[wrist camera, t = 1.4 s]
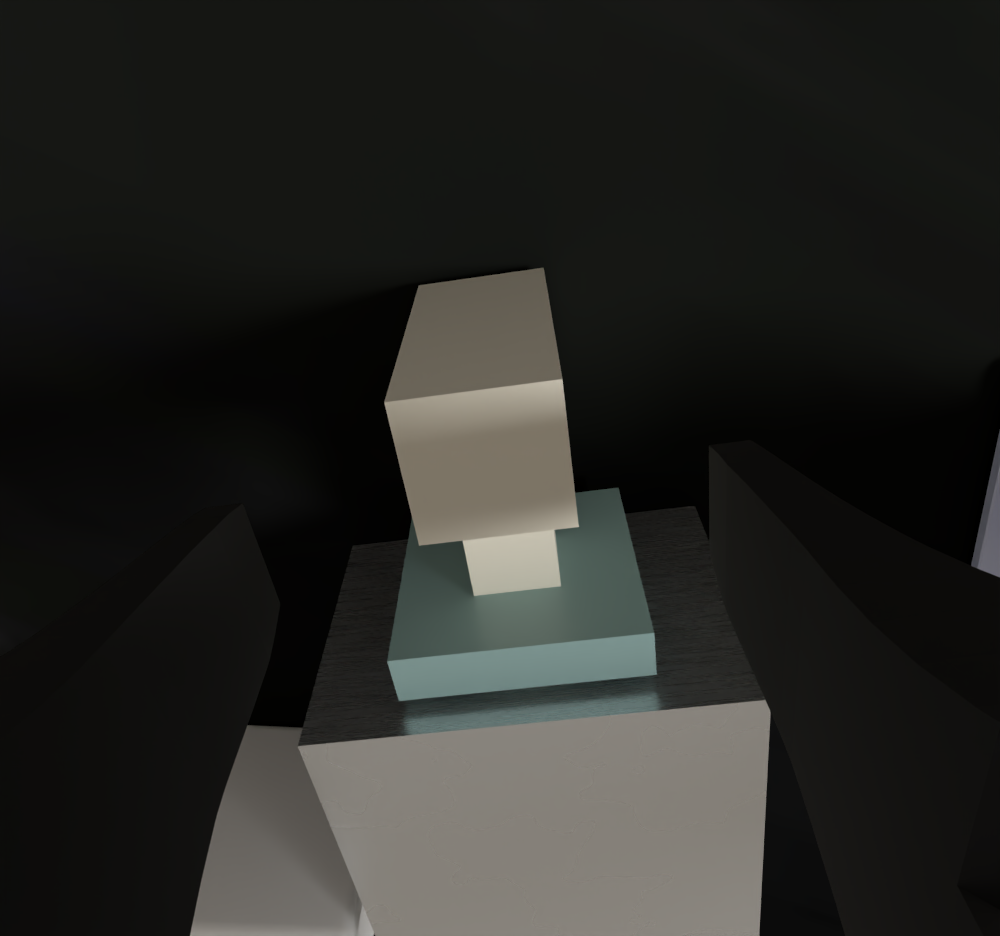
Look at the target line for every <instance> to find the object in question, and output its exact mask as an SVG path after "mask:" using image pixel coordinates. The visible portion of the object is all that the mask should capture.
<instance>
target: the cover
mask: <svg viewBox="0 0 1000 936" xmlns="http://www.w3.org/2000/svg"><path fill="white" fill-rule="evenodd" d="M384 404H385V408H386V412H387V416H388V420H389V424H390V428H391V433H392V437H393V441H394V445H395V449H396V453H397V457H398V461H399V465H400V469H401V474H402V478H403V482H404V486H405V490H406V494H407V498H408V502H409V506H410V510H411V515H412V520H411V526H410V532H409V538H408V543H407V549H406V555H405V561H404V567H403V572H402V578H401V584H400V590H399V595H398V601H397V607H396V613H395V618H394V624H393V630H392V636H391V641H390V647H389V653H388V659H387V663H388V666H389V669H390V673H391V676H392V680H393V683H394V686H395V690H396V693H397V696H398V700H399V701H405V700H415V699H424V698H434V697H444V696H454V695H464V694H473V693H483V692H493V691H503V690H512V689H522V688H532V687H542V686H552V685H561V684H571V683H581V682H591V681H600V680H610V679H620V678H630V677H640V676H649V675H657V671H656V653H655V635H654V629H653V625H652V621H651V617H650V613H649V609H648V605H647V601H646V597H645V593H644V589H643V585H642V581H641V577H640V573H639V569H638V565H637V561H636V557H635V553H634V549H633V545H632V541H631V536H630V532H629V528H628V524H627V520H626V516H625V512H624V508H623V504H622V500H621V496H620V492H619V488H611V489H603V490H594V491H586V492H578V493H575V488H574V479H573V470H572V461H571V452H570V443H569V434H568V425H567V416H566V407H565V398H564V389H563V380H562V374H561V368H560V362H559V356H558V350H557V344H556V338H555V333H554V327H553V321H552V315H551V309H550V303H549V297H548V291H547V285H546V279H545V273H544V268H538V269H531V270H524V271H517V272H510V273H503V274H496V275H489V276H481V277H474V278H467V279H460V280H453V281H446V282H439V283H432V284H425V285H419V286H418V290H417V293H416V296H415V300H414V303H413V307H412V310H411V313H410V317H409V320H408V323H407V327H406V330H405V334H404V337H403V340H402V344H401V347H400V351H399V354H398V357H397V361H396V364H395V367H394V371H393V374H392V378H391V381H390V384H389V388H388V391H387V395H386V398H385V401H384Z"/></svg>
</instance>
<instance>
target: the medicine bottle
mask: <svg viewBox="0 0 1000 936" xmlns="http://www.w3.org/2000/svg"><path fill="white" fill-rule="evenodd" d="M301 732H302V728H297V727H277V726H257V725H247V728H246V731H245V733H244V736H243V739H242V742H241V745H240V748H239V750H238V753H237V756H236V759H235V762H234V764H233V767H232V770H231V773H230V776H229V779H228V781H227V784H226V787H225V790H224V794H223V797H222V800H221V803H220V807H219V810H218V813H217V817H216V821H215V825H214V829H213V833H212V837H211V842H210V846H209V850H208V854H207V859H206V863H205V867H204V871H203V876H202V880H201V885H200V889H199V894H198V899H197V904H196V909H195V914H194V918H193V923H192V928H191V933H190V936H373V935H374V931H373V929H372V926H371V924H370V921H369V919H368V917H367V914H366V912H365V909H364V907H363V904H362V902H361V900H360V897H359V895H358V892H357V890H356V887H355V885H354V883H353V880H352V878H351V875H350V873H349V870H348V868H347V865H346V863H345V861H344V858H343V856H342V853H341V851H340V848H339V846H338V844H337V841H336V839H335V836H334V834H333V831H332V829H331V826H330V824H329V822H328V819H327V817H326V814H325V812H324V809H323V807H322V805H321V802H320V800H319V797H318V795H317V792H316V790H315V787H314V785H313V783H312V780H311V778H310V775H309V773H308V770H307V768H306V766H305V763H304V761H303V758H302V756H301V753H300V751H299V749H298V743H299V739H300V736H301Z"/></svg>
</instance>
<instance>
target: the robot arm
mask: <svg viewBox="0 0 1000 936" xmlns="http://www.w3.org/2000/svg"><path fill="white" fill-rule="evenodd" d="M709 552H710V558H711V562H712V565H713V569H714V572H715V576H716V579H717V583H718V587H719V590H720V593H721V596H722V600H723V603H724V606H725V610H726V612H727V614H728V617H729V619H730V621H731V624H732V626H733V628H734V631H735V633H736V635H737V637H738V640H739V642H740V644H741V647H742V649H743V651H744V653H745V656H746V658H747V660H748V662H749V665H750V667H751V669H752V671H753V674H754V676H755V678H756V680H757V682H758V685H759V687H760V689H761V691H762V694H763V696H764V698H765V700H766V703H767V705H768V707H769V709H770V712H771V714H772V716H773V718H774V720H775V723H776V725H777V727H778V729H779V732H780V734H781V737H782V739H783V742H784V744H785V747H786V749H787V752H788V754H789V757H790V759H791V762H792V765H793V768H794V771H795V774H796V777H797V780H798V784H799V787H800V790H801V793H802V796H803V799H804V802H805V805H806V808H807V811H808V814H809V817H810V820H811V824H812V827H813V830H814V833H815V836H816V840H817V843H818V846H819V849H820V853H821V856H822V859H823V862H824V866H825V869H826V872H827V875H828V879H829V882H830V885H831V888H832V892H833V895H834V898H835V902H836V905H837V909H838V912H839V915H840V919H841V922H842V926H843V929H844V933H845V936H1000V431H999V436H998V440H997V445H996V450H995V455H994V459H993V464H992V469H991V474H990V478H989V483H988V488H987V493H986V497H985V502H984V507H983V511H982V516H981V521H980V526H979V530H978V535H977V540H976V545H975V549H974V554H973V559H972V564H971V566H970V565H968V564H966V563H964V562H962V561H959V560H957V559H955V558H953V557H950V556H948V555H946V554H944V553H942V552H939V551H937V550H935V549H933V548H930V547H928V546H926V545H924V544H922V543H920V542H918V541H916V540H914V539H912V538H910V537H908V536H906V535H904V534H902V533H900V532H899V531H897V530H895V529H893V528H891V527H889V526H888V525H886V524H884V523H882V522H880V521H878V520H877V519H875V518H873V517H871V516H869V515H867V514H866V513H864V512H862V511H861V510H859V509H857V508H855V507H854V506H852V505H850V504H849V503H847V502H845V501H844V500H842V499H840V498H839V497H837V496H836V495H834V494H832V493H831V492H829V491H828V490H826V489H825V488H823V487H821V486H820V485H818V484H817V483H815V482H814V481H812V480H811V479H809V478H808V477H806V476H805V475H803V474H802V473H800V472H799V471H797V470H796V469H794V468H793V467H791V466H790V465H788V464H787V463H785V462H784V461H782V460H781V459H779V458H778V457H776V456H775V455H773V454H772V453H770V452H769V451H767V450H766V449H764V448H763V447H761V446H760V445H758V444H756V443H755V442H753V441H751V440H746V441H738V442H730V443H722V444H714V445H709ZM279 609H280V601H279V599H278V596H277V593H276V591H275V588H274V585H273V583H272V580H271V577H270V575H269V572H268V569H267V567H266V564H265V561H264V559H263V556H262V553H261V551H260V548H259V545H258V543H257V540H256V538H255V535H254V532H253V530H252V527H251V524H250V522H249V519H248V516H247V514H246V511H245V508H244V506H243V503H241V504H233V505H225V506H217V507H209V508H204V509H203V510H201V511H199V512H198V513H196V514H195V515H193V516H192V517H190V518H189V519H187V520H186V521H185V522H183V523H182V524H181V525H179V526H178V527H177V528H175V529H174V530H173V531H171V532H170V533H169V534H167V535H166V536H165V537H164V538H162V539H161V540H160V541H158V542H157V543H156V544H155V545H153V546H152V547H151V548H150V549H148V550H147V551H146V552H144V553H143V554H142V555H141V556H139V557H138V558H137V559H136V560H134V561H133V562H132V563H130V564H129V565H128V566H127V567H125V568H124V569H123V570H122V571H120V572H119V573H118V574H116V575H115V576H114V577H113V578H111V579H110V580H109V581H108V582H106V583H105V584H104V585H102V586H101V587H100V588H98V589H97V590H96V591H94V592H93V593H91V594H90V595H89V596H87V597H86V598H85V599H83V600H82V601H81V602H79V603H78V604H76V605H75V606H74V607H72V608H71V609H70V610H68V611H67V612H66V613H64V614H63V615H61V616H60V617H59V618H57V619H56V620H55V621H53V622H52V623H50V624H49V625H48V626H46V627H45V628H44V629H42V630H41V631H39V632H38V633H36V634H35V635H33V636H32V637H30V638H29V639H27V640H26V641H24V642H23V643H21V644H20V645H18V646H17V647H15V648H14V649H12V650H11V651H9V652H7V653H6V654H4V655H3V656H1V657H0V936H190V933H191V928H192V923H193V918H194V914H195V909H196V904H197V899H198V894H199V889H200V885H201V880H202V876H203V871H204V867H205V863H206V859H207V854H208V850H209V846H210V842H211V837H212V833H213V829H214V825H215V821H216V817H217V813H218V810H219V807H220V803H221V800H222V797H223V794H224V790H225V787H226V784H227V781H228V779H229V776H230V773H231V770H232V767H233V764H234V762H235V759H236V756H237V753H238V750H239V748H240V745H241V742H242V739H243V736H244V733H245V731H246V728H247V725H248V722H249V719H250V717H251V714H252V711H253V708H254V705H255V702H256V699H257V697H258V694H259V691H260V688H261V685H262V682H263V679H264V676H265V673H266V670H267V667H268V664H269V661H270V657H271V652H272V647H273V642H274V638H275V632H276V627H277V621H278V615H279Z"/></svg>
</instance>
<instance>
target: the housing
mask: <svg viewBox="0 0 1000 936" xmlns="http://www.w3.org/2000/svg"><path fill="white" fill-rule="evenodd" d="M625 516H626V520H627V524H628V528H629V532H630V536H631V541H632V545H633V549H634V553H635V557H636V561H637V565H638V569H639V573H640V577H641V581H642V585H643V589H644V593H645V597H646V601H647V605H648V609H649V613H650V617H651V621H652V625H653V629H654V635H655V653H656V671H657V675H649V676H640V677H630V678H620V679H610V680H600V681H591V682H581V683H571V684H561V685H552V686H542V687H532V688H522V689H512V690H503V691H493V692H483V693H473V694H464V695H454V696H444V697H434V698H424V699H415V700H405V701H399V700H398V696H397V693H396V690H395V686H394V683H393V680H392V676H391V673H390V669H389V666H388V663H387V659H388V653H389V647H390V641H391V636H392V630H393V624H394V618H395V613H396V607H397V601H398V595H399V590H400V584H401V578H402V572H403V567H404V561H405V555H406V549H407V543H408V539H407V540H398V541H390V542H381V543H373V544H364V545H356V546H353V547H352V550H351V554H350V558H349V561H348V565H347V569H346V572H345V576H344V579H343V583H342V587H341V590H340V594H339V598H338V601H337V605H336V609H335V612H334V616H333V619H332V623H331V627H330V630H329V634H328V638H327V641H326V645H325V649H324V652H323V656H322V659H321V663H320V667H319V670H318V674H317V678H316V681H315V685H314V689H313V692H312V696H311V699H310V703H309V707H308V710H307V714H306V718H305V721H304V725H303V728H302V732H301V736H300V739H299V743H298V749H299V751H300V753H301V756H302V758H303V761H304V763H305V766H306V768H307V770H308V773H309V775H310V778H311V780H312V783H313V785H314V787H315V790H316V792H317V795H318V797H319V800H320V802H321V805H322V807H323V809H324V812H325V814H326V817H327V819H328V822H329V824H330V826H331V829H332V831H333V834H334V836H335V839H336V841H337V844H338V846H339V848H340V851H341V853H342V856H343V858H344V861H345V863H346V865H347V868H348V870H349V873H350V875H351V878H352V880H353V883H354V885H355V887H356V890H357V892H358V895H359V897H360V900H361V902H362V904H363V907H364V909H365V912H366V914H367V917H368V919H369V921H370V924H371V926H372V929H373V931H374V934H375V936H759V927H760V908H761V888H762V868H763V848H764V829H765V809H766V789H767V769H768V750H769V730H770V709H769V707H768V705H767V703H766V700H765V698H764V696H763V694H762V691H761V689H760V687H759V685H758V682H757V680H756V678H755V676H754V674H753V671H752V669H751V667H750V665H749V662H748V660H747V658H746V656H745V653H744V651H743V649H742V647H741V644H740V642H739V640H738V637H737V635H736V633H735V631H734V628H733V626H732V624H731V621H730V619H729V617H728V614H727V612H726V610H725V606H724V603H723V600H722V596H721V593H720V590H719V587H718V583H717V579H716V576H715V572H714V569H713V565H712V562H711V558H710V552H709V541H708V538H707V535H706V533H705V530H704V528H703V525H702V523H701V520H700V518H699V515H698V513H697V510H696V507H695V506H687V507H679V508H670V509H662V510H653V511H645V512H636V513H628V514H625Z"/></svg>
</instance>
